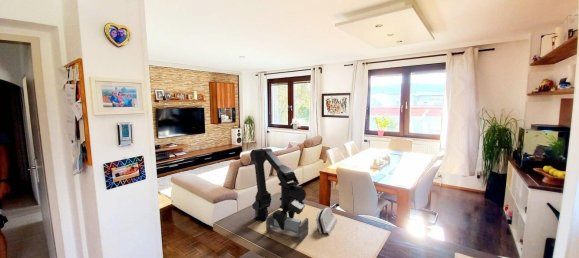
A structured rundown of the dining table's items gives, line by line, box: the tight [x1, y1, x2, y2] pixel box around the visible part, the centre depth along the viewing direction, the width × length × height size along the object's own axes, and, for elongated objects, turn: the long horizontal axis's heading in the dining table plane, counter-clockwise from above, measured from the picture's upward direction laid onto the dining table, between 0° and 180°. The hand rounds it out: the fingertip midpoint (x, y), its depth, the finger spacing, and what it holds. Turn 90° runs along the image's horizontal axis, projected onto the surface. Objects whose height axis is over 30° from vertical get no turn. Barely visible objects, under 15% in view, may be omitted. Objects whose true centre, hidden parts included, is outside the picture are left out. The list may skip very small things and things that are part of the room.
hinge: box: [315, 207, 338, 236], centre depth 128 cm, size 17×5×10 cm, turn 155°
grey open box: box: [265, 210, 309, 244], centre depth 121 cm, size 19×9×8 cm, turn 63°
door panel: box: [274, 216, 302, 233], centre depth 121 cm, size 14×2×7 cm, turn 63°
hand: (287, 225), depth 121 cm, fingers open, 9 cm apart
